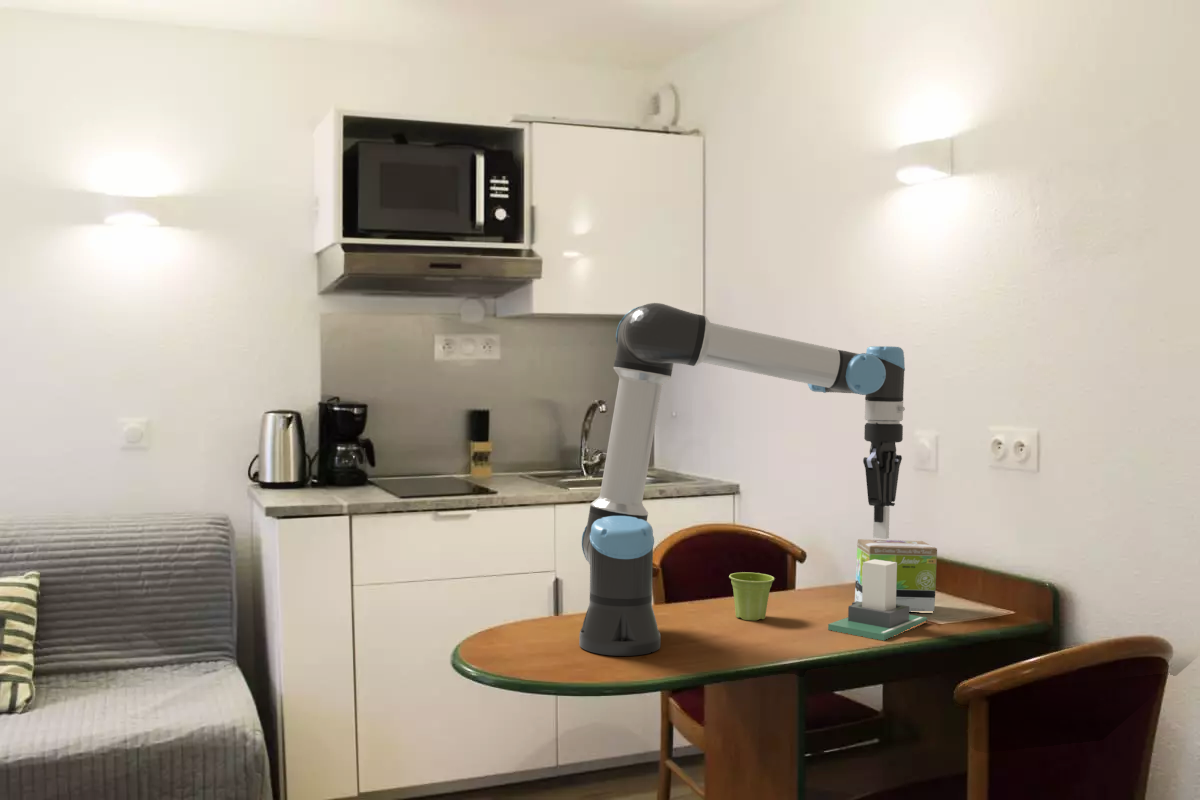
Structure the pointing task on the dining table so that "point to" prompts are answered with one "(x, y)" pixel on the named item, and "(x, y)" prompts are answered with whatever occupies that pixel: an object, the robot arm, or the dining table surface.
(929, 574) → the tea box
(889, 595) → the plug
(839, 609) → the dining table surface
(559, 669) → the dining table surface
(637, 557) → the robot arm
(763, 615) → the plant pot
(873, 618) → the board
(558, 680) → the dining table surface
